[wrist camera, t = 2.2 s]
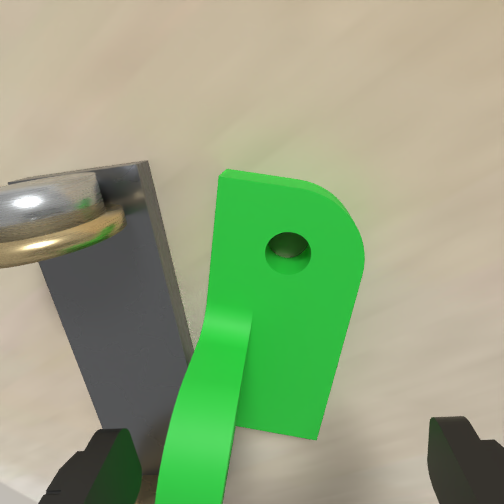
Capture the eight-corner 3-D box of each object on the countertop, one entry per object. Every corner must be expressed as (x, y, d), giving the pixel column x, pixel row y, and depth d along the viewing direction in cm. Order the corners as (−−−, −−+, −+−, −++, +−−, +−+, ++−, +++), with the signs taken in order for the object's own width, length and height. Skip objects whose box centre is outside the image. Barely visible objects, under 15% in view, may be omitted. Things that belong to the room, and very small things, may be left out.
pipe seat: (147, 160, 15) (62, 189, 9) (224, 479, 21) (201, 607, 16) (27, 177, 16) (-118, 213, 10) (137, 479, 22) (87, 601, 17)
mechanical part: (313, 408, 19) (329, 596, 12) (204, 389, 19) (152, 561, 12) (370, 189, 15) (455, 269, 7) (227, 168, 15) (165, 223, 7)
